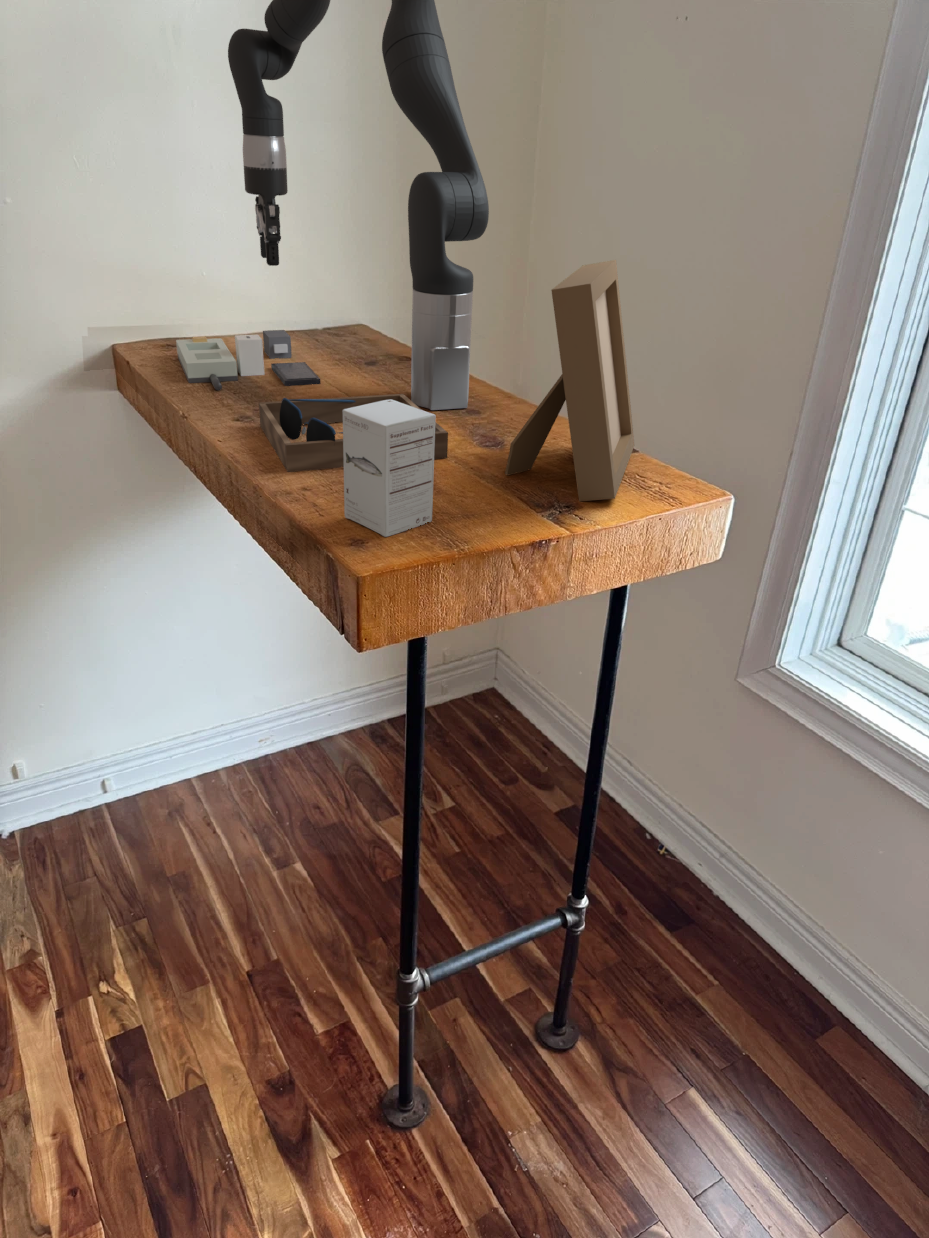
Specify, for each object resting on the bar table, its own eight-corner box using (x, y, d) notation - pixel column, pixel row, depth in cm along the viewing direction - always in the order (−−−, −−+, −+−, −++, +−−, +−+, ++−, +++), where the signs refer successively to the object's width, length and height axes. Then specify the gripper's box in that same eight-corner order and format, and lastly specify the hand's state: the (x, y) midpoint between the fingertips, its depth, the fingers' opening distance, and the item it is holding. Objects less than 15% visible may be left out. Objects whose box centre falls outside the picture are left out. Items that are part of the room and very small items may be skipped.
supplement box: (342, 518, 100) (339, 408, 94) (392, 503, 105) (392, 397, 99) (384, 539, 96) (384, 425, 89) (434, 522, 100) (437, 412, 94)
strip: (243, 389, 144) (241, 366, 143) (193, 392, 142) (190, 368, 140) (222, 356, 164) (220, 335, 162) (177, 358, 161) (175, 336, 159)
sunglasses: (275, 430, 126) (278, 395, 124) (366, 429, 134) (370, 396, 132) (329, 467, 114) (332, 429, 112) (425, 464, 122) (430, 428, 120)
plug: (292, 359, 164) (291, 337, 162) (271, 360, 163) (269, 338, 161) (285, 351, 170) (283, 330, 168) (264, 352, 168) (262, 330, 166)
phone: (320, 386, 150) (320, 378, 149) (285, 388, 148) (284, 380, 147) (304, 368, 160) (304, 361, 159) (271, 370, 158) (271, 362, 157)
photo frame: (633, 451, 125) (660, 263, 113) (613, 506, 107) (642, 288, 95) (531, 438, 128) (546, 254, 116) (494, 489, 110) (508, 276, 98)
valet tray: (447, 458, 119) (448, 432, 118) (287, 472, 112) (286, 445, 110) (402, 416, 135) (403, 393, 133) (260, 426, 128) (258, 402, 126)
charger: (264, 375, 153) (262, 339, 150) (241, 376, 152) (238, 340, 149) (260, 369, 157) (257, 334, 154) (237, 370, 155) (234, 335, 152)
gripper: (292, 168, 153) (295, 268, 161) (280, 162, 164) (284, 255, 172) (247, 167, 150) (253, 268, 159) (239, 160, 162) (245, 255, 170)
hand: (269, 261), depth 165 cm, fingers open, 8 cm apart
